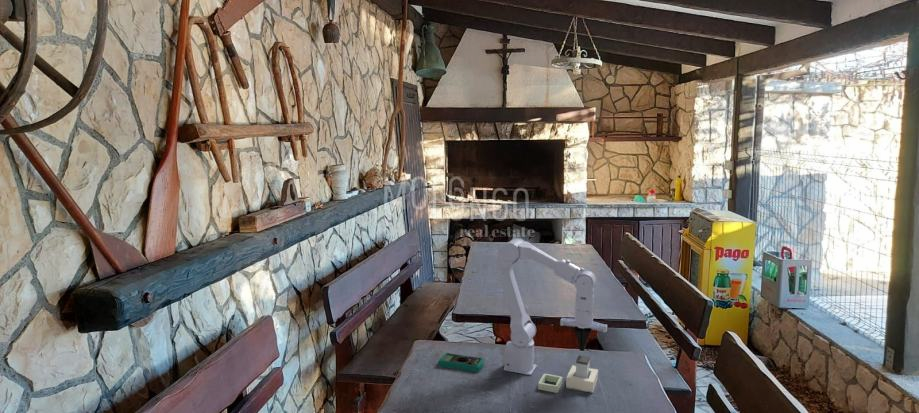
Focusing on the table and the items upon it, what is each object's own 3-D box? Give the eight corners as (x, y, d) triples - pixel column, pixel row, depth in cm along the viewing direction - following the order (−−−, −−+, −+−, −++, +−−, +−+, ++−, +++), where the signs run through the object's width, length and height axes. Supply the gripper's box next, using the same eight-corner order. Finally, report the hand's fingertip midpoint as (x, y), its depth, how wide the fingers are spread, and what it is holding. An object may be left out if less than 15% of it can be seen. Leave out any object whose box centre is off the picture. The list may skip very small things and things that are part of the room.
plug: (575, 384, 178) (576, 360, 177) (577, 378, 183) (579, 354, 182) (586, 386, 177) (587, 362, 176) (588, 380, 181) (590, 356, 180)
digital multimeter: (479, 374, 187) (479, 366, 186) (437, 367, 191) (437, 359, 191) (485, 365, 194) (485, 357, 193) (444, 359, 198) (444, 351, 198)
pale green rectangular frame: (537, 389, 176) (538, 383, 176) (543, 379, 183) (543, 373, 183) (557, 392, 174) (557, 386, 173) (562, 382, 181) (562, 376, 180)
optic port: (566, 387, 177) (566, 376, 176) (572, 375, 186) (572, 364, 185) (592, 393, 174) (593, 381, 173) (597, 379, 183) (598, 368, 182)
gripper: (558, 309, 178) (557, 350, 180) (605, 316, 173) (603, 358, 175) (563, 302, 185) (561, 342, 187) (609, 309, 179) (606, 350, 181)
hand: (582, 349), depth 181 cm, fingers closed
